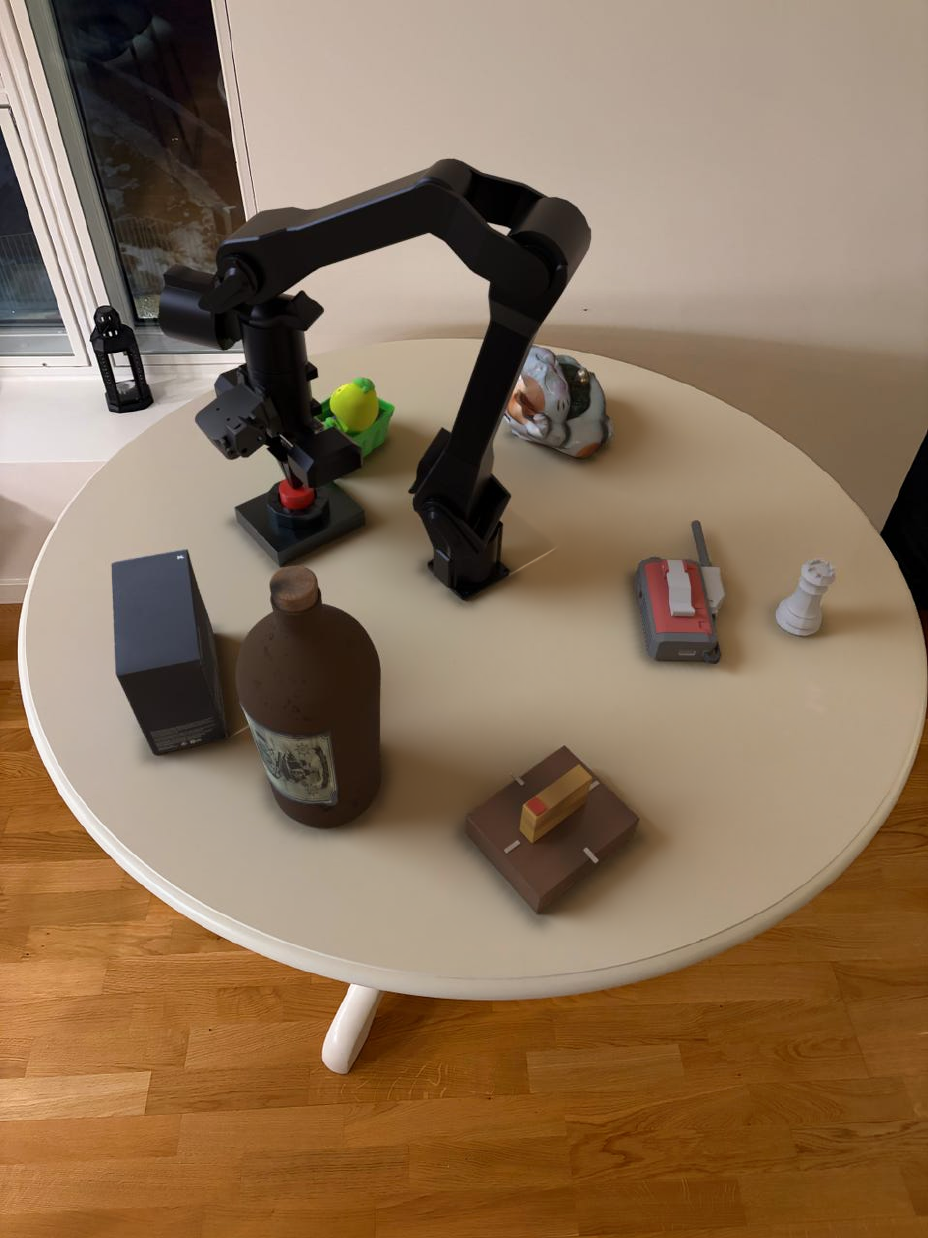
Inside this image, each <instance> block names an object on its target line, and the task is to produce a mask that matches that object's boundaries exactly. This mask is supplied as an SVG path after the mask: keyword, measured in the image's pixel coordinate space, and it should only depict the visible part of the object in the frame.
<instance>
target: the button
mask: <svg viewBox="0 0 928 1238" xmlns="http://www.w3.org/2000/svg"><path fill="white" fill-rule="evenodd" d="M282 480H283V481H282ZM282 480H281V481H282V482H281V483H280V485H279V492H280V498H281V502H282V504H283V505H284V506H285V507H286V508H289V509H303V508H305V507H307V506H310V505H311V504H312V503H313V502H314V499H315V496H314V488H308V487H307V486H306V485H305V484H304V483H303V485H302V487H300V488H298V489H295V490H294V489H293V488H292V487H291V486H290V485H289V483H288V482H287V480H286V478H284V479H282Z"/></svg>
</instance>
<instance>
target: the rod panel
mask: <svg viewBox="0 0 928 1238" xmlns="http://www.w3.org/2000/svg"><path fill="white" fill-rule="evenodd" d="M578 764H579V765H580V766H581V767H582V768H583V769H584V770H585V771H586V772H587V773H588V774H590V775H591V776H592V781H591V785H590V789H589V793H588V797H587V801H586V803H585V804H584V805H583V806H581V807H580V808H579V809H577V810H576V811H575V812H573V813H572V814H571V815H569V816H568V817H567V818H565V819H564V820H563V821H562V822H560V823H559V824H558V825H556V826H555V827H554V828H552V829H551V830H550V831H548V832H547V833H546V834H544V835H543V836H542V837H540V838H539V839H538V840H537V841H535V842H534V843H531V842H530V841H529V840H528V839H527V838H526V837H525V835H524V834H523V833H522V832H521V831H520V830H519V828H520V822H521V815H522V808H523V805H524V804H525V803H526V802H528V801H529V800H530V799H532V798H533V797H535V796H536V795H537V794H539V793H540V792H541V791H543V790H544V789H545V788H547V787H548V786H550V785H551V784H552V783H554V782H555V781H556V780H558V779H559V778H561V777H562V776H563V775H565V774H566V773H567V772H569V771H570V770H571V769H573V768H574V767H576V766H577V765H578ZM510 776H511V777H512V779H513V780H512V782H510V783H509V784H507V785H506V786H505V787H503V788H502V789H500V790H499V791H497V792H496V793H495V794H493V795H492V796H491V797H488V799H486V800H485V801H484V802H482V803H480V804H479V805H478V806H476V807H475V808H474V809H472V810H471V811H470V812H468V813H467V814H466V815H465V821H464V822H465V823H464V834H465V835H466V836H467V837H468V839H470V841H472V843H473V844H474V845H475V846H476V847H477V848H478V850H479V851H480V852H481V853H482V854H483V855H484V856H485V857H486V859H487V860H488V861H489V862H490V863H491V865H493V866H494V868H495V869H496V870H497V871H498V872H499V874H501V876H502V877H503V878H504V879H505V880H506V881H507V883H508V884H509V885H510V886H511V887H512V888H513V889H514V890H515V892H516V893H517V894H518V895H519V896H520V897H521V898H522V899H523V901H524V902H525V903H526V904H527V905H528V906H529V908H530V909H531V910H532V911H533V912H534V913H535V914H536V915H537V914H539V913H540V912H541V911H543V910H544V909H545V908H546V907H548V906H549V905H550V904H551V903H553V902H554V901H555V900H556V899H558V898H559V897H560V896H562V894H564V893H565V892H567V890H568V889H570V888H572V886H574V885H575V884H576V883H578V881H580V880H581V879H583V877H585V876H586V875H587V874H589V872H591V871H592V870H593V869H594V868H596V867H597V866H598V865H600V864H601V863H602V862H603V861H604V860H606V859H607V858H608V857H610V856H611V855H612V854H614V853H615V852H616V851H617V850H618V849H619V848H621V847H622V846H623V845H624V844H625V843H627V842H628V841H630V840H631V839H632V838H633V837H635V834H636V830H637V827H638V825H639V823H640V819H641V818H640V816H639V815H637V814H636V813H635V812H634V811H633V810H632V809H631V808H630V807H629V806H628V805H627V804H626V803H625V802H624V801H623V800H622V799H621V798H620V797H619V796H618V795H617V794H616V793H615V792H614V791H613V790H612V789H611V788H609V786H608V785H606V784H605V782H604V781H602V779H600V778H599V777H598V775H596V773H594V772H593V771H592V770H591V769H590V768H589V767H588V766H587V765H586V764H585V763H584V762H583V761H582V760H581V759H580V758H578V756H576V754H574V752H573V751H572V750H571V749H570V748H568V747H567V745H565V744H564V745H562V746H561V747H559V748H558V749H556V750H555V751H554V752H552V753H551V754H549V755H548V756H547V757H545V758H544V759H542V760H541V761H540V762H538V763H537V764H535V765H534V766H533V767H531V768H529V770H527V771H526V772H523V774H522V775H520V776H518V775H517V774H516V773H515V771H512V772H511V773H510Z"/></svg>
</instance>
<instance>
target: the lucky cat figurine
mask: <svg viewBox="0 0 928 1238" xmlns="http://www.w3.org/2000/svg"><path fill="white" fill-rule="evenodd" d="M502 419H503V420H504V421H505V422H506V424H508V426H509V427H510V430H511V432H512V434H514V435H516V436H517V437H518V438H519V439H521V440H523V441H524V440H525V441H530V442H535V443H538V444H540V445H543V446H547V447H550V448H554V449H555V450H557V451H560V452H561V453H563V454H567V455H569V456H572V457H575V458H578V459H585V458H588V457H589V456H591V455H593V453H594V452H595V451H597V450H598V449H600V448H601V447H602V446H604V445H605V444H606V443H611V442H612V441H613V439H614V437H615V436H614V432H613V431H614V429H613V427H614V426H613V421H612V418H610V416H609V415H608V414H607V401H606V395H605V391H604V390H603V387H602V385H601V383H600V381H599V380H598V378H597V376H596V374H595V372H593V371H589V370H588V369H587V368H586V367H584V366H582V365H581V363H580V362H579V361H578V360H577V359H576V358H574V357H572V356H570V355H566V354H555V352H553V350H551V349H549V348H545V347H540V346H539V345H535V344H533V345H532V347H531V350H530V352H529V355H528V357H527V359H526V362H525V364H524V367H523V369H522V372H521V374H520V377H519V379H518V382H517V384H516V386H515V389H514V391H513V394H512V396H511V399H510V401H509V404H508V406H507V409H506V411H505V414H504V416H503V418H502Z"/></svg>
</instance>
